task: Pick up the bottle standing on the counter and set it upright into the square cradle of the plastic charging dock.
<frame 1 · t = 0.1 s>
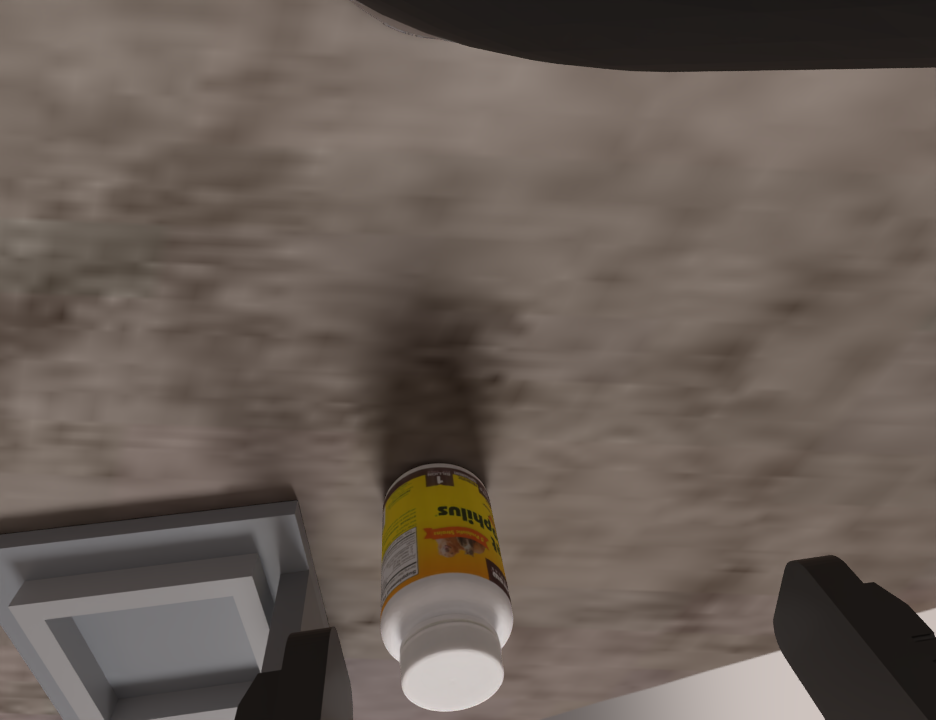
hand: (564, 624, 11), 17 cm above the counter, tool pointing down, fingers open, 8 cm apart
supplement bottle: (435, 496, 32), on the counter
charging dock: (180, 623, 34), on the counter
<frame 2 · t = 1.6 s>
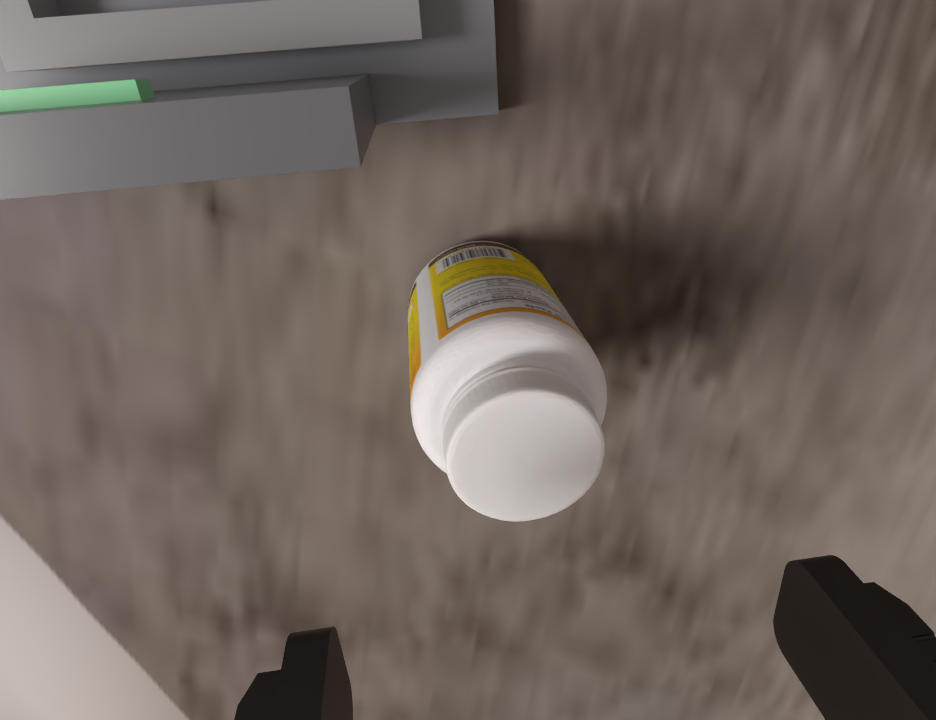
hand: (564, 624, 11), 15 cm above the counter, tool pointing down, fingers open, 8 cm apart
supplement bottle: (477, 302, 24), on the counter
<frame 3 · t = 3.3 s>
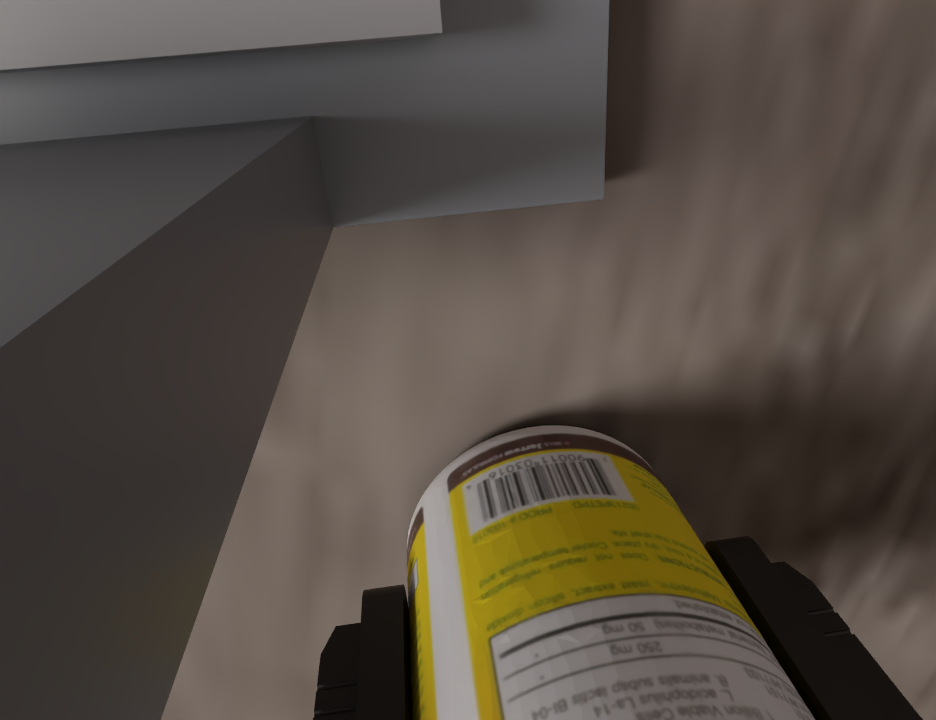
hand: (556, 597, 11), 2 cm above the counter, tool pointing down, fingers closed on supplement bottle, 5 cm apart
supplement bottle: (533, 513, 13), on the counter, touching gripper
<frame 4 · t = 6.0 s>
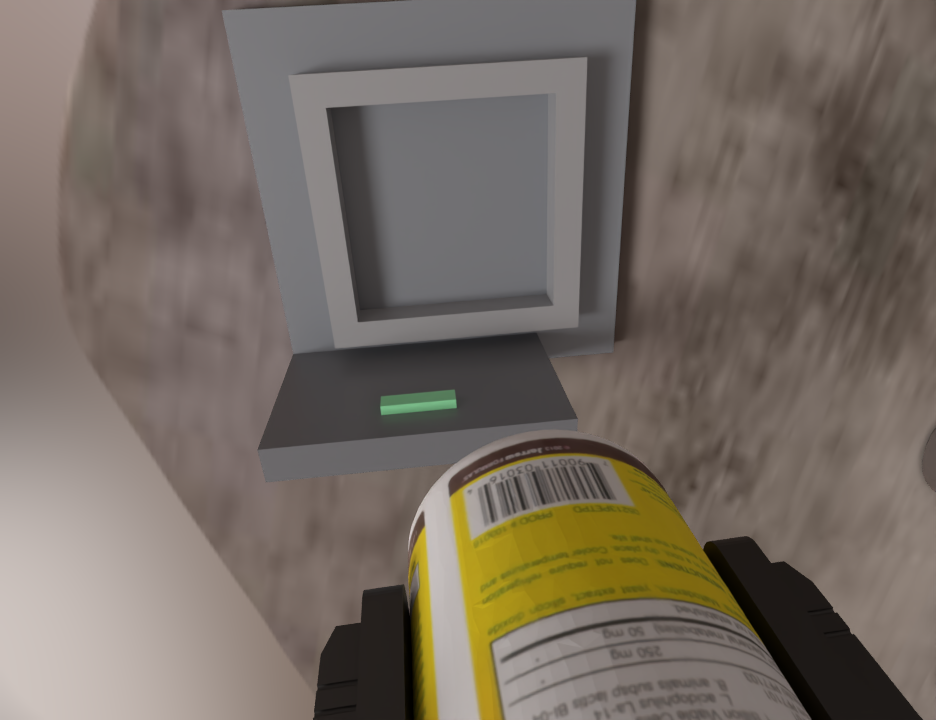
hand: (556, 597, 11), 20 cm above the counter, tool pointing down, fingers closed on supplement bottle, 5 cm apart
supplement bottle: (533, 517, 13), point 18 cm above the counter, touching gripper
charging dock: (446, 203, 28), on the counter
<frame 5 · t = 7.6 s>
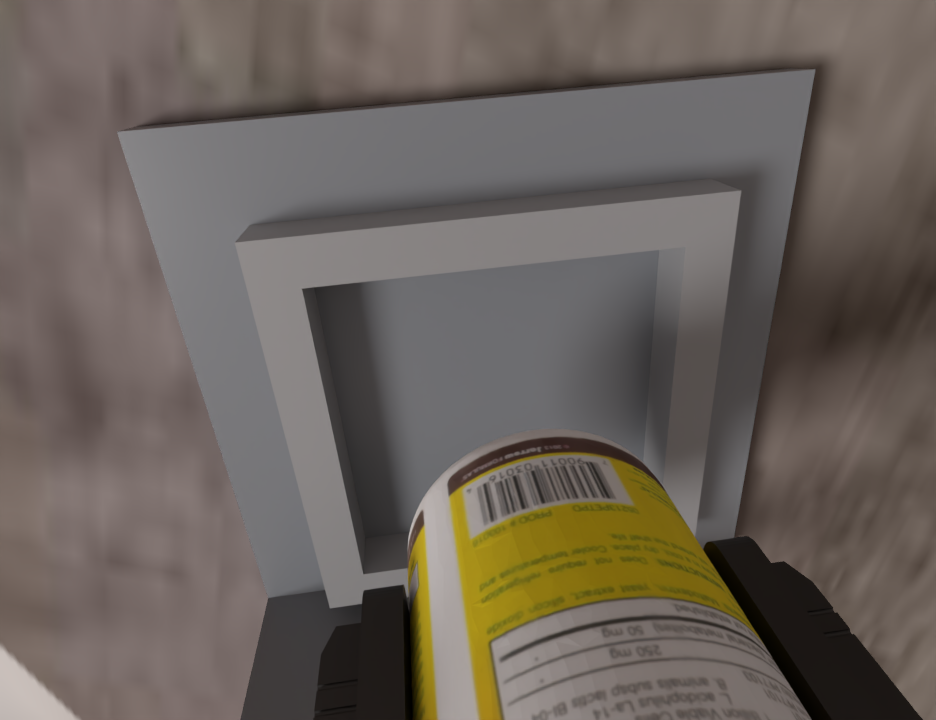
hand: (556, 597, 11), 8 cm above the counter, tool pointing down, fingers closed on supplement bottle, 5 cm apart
supplement bottle: (533, 516, 13), point 6 cm above the counter, touching gripper
charging dock: (492, 383, 18), on the counter
when the fingers open (4 cm above the counter, at t = 8.8 s): supplement bottle drops 1 cm, resting on charging dock.
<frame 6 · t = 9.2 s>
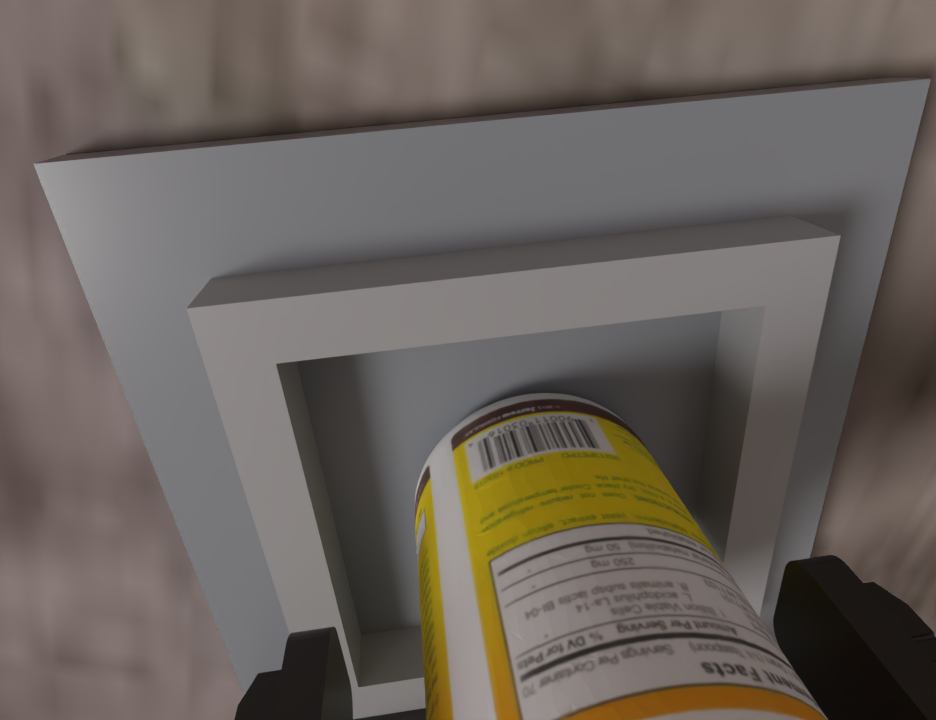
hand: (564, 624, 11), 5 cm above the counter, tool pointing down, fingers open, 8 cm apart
supplement bottle: (528, 476, 14), point 1 cm above the counter, touching charging dock
charging dock: (513, 454, 15), on the counter
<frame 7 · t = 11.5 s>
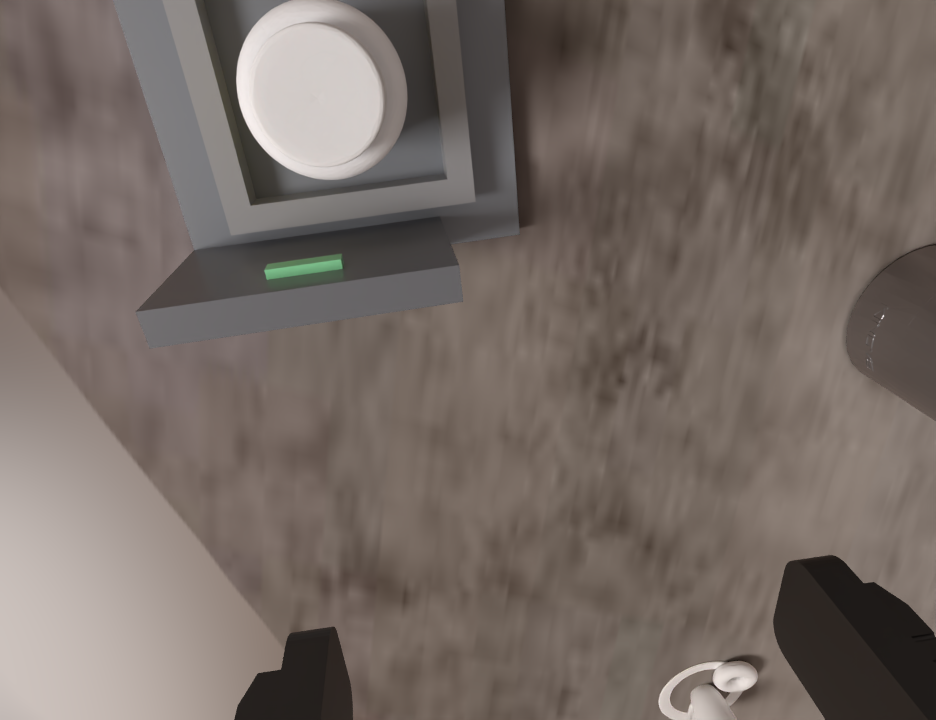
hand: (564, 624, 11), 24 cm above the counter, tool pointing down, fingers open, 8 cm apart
supplement bottle: (337, 85, 27), point 1 cm above the counter, touching charging dock
charging dock: (333, 82, 27), on the counter
teacup and saucer: (728, 684, 54), on the counter
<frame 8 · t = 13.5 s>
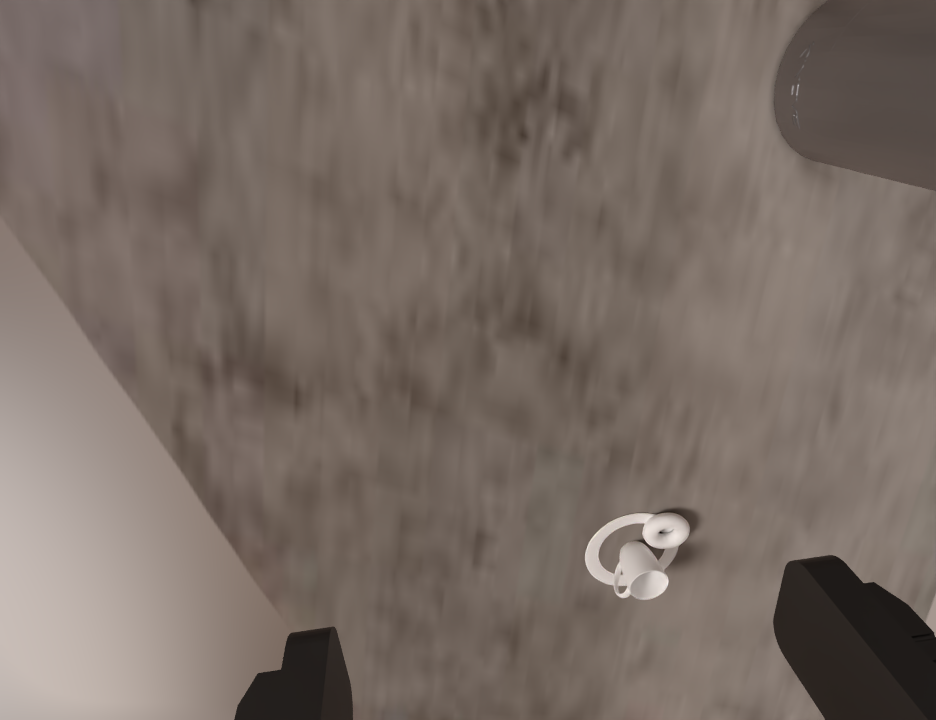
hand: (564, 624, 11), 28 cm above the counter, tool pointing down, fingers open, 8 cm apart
teacup and saucer: (662, 547, 51), on the counter
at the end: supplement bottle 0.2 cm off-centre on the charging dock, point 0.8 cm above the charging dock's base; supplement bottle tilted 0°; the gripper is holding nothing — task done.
